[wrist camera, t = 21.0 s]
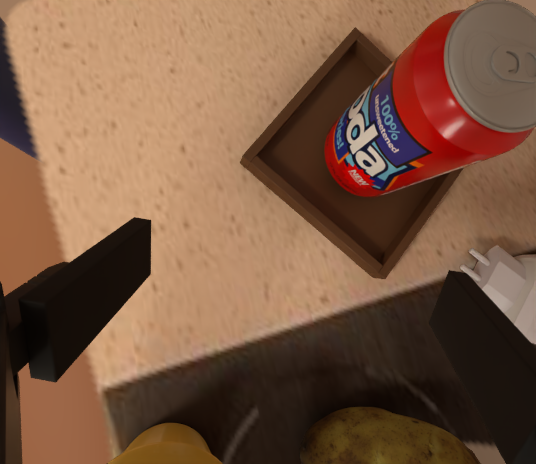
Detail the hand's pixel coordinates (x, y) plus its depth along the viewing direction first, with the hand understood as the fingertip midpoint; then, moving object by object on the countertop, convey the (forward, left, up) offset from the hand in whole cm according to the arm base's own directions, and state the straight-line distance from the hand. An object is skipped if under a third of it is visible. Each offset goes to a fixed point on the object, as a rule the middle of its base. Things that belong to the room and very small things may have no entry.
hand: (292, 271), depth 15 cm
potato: (+18, -5, -14) cm, 23 cm away
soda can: (+2, +14, -13) cm, 19 cm away
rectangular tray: (+2, +14, -14) cm, 20 cm away
